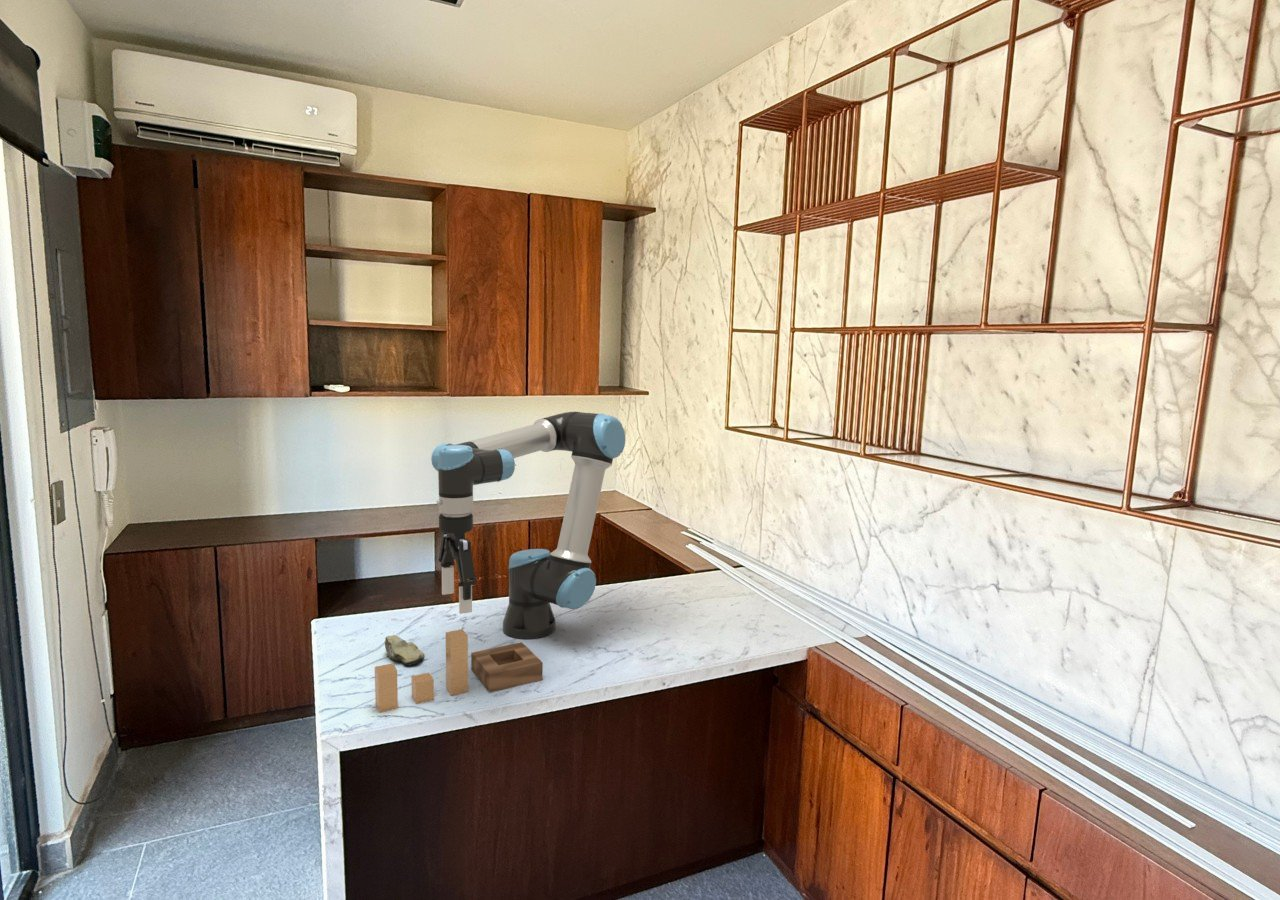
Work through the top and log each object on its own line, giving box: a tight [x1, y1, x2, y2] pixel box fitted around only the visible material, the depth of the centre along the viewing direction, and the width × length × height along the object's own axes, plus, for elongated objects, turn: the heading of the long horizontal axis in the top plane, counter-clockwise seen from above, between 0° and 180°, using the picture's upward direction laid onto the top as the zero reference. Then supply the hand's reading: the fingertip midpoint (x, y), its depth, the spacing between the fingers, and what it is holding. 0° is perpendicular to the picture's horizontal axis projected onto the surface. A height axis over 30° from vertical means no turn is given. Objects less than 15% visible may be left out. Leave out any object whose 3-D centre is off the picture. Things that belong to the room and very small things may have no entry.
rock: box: [384, 634, 425, 667], centre depth 179 cm, size 11×6×10 cm
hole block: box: [470, 641, 544, 693], centre depth 172 cm, size 14×14×4 cm
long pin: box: [445, 628, 469, 697], centre depth 163 cm, size 4×4×14 cm
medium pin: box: [374, 663, 399, 713], centre depth 155 cm, size 4×4×9 cm
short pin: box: [411, 672, 435, 705], centre depth 159 cm, size 4×4×5 cm
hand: (456, 602), depth 161 cm, fingers open, 13 cm apart
